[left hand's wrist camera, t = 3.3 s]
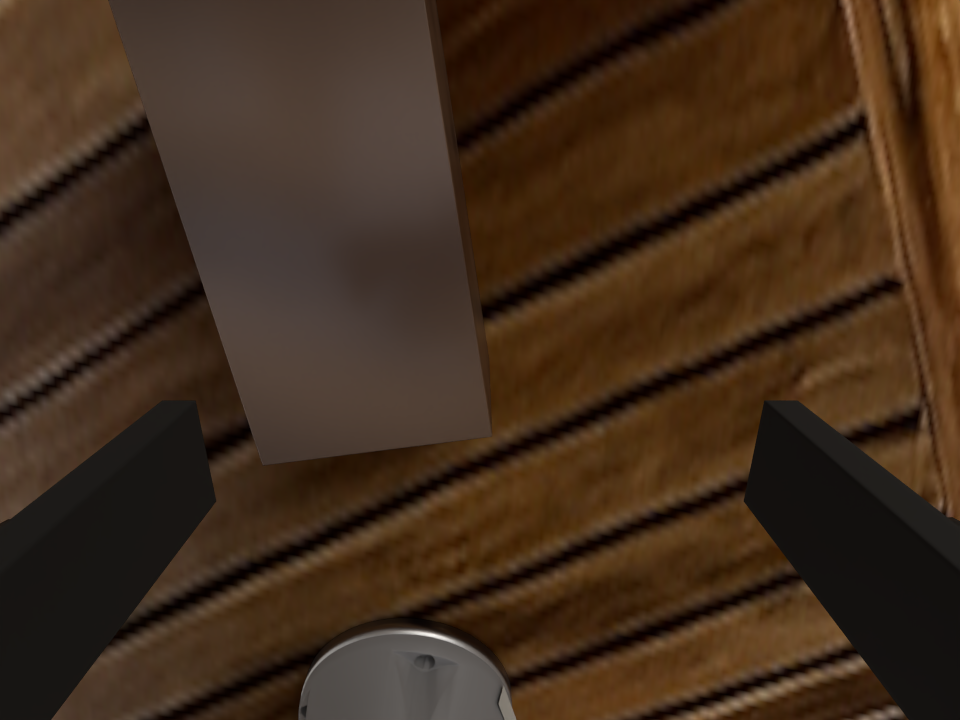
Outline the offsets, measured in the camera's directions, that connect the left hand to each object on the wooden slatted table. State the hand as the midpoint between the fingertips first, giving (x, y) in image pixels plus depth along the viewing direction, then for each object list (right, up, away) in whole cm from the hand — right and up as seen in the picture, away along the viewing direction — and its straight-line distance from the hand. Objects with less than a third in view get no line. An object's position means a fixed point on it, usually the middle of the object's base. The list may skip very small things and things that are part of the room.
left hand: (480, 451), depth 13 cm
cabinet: (-6, +10, +15) cm, 19 cm away
